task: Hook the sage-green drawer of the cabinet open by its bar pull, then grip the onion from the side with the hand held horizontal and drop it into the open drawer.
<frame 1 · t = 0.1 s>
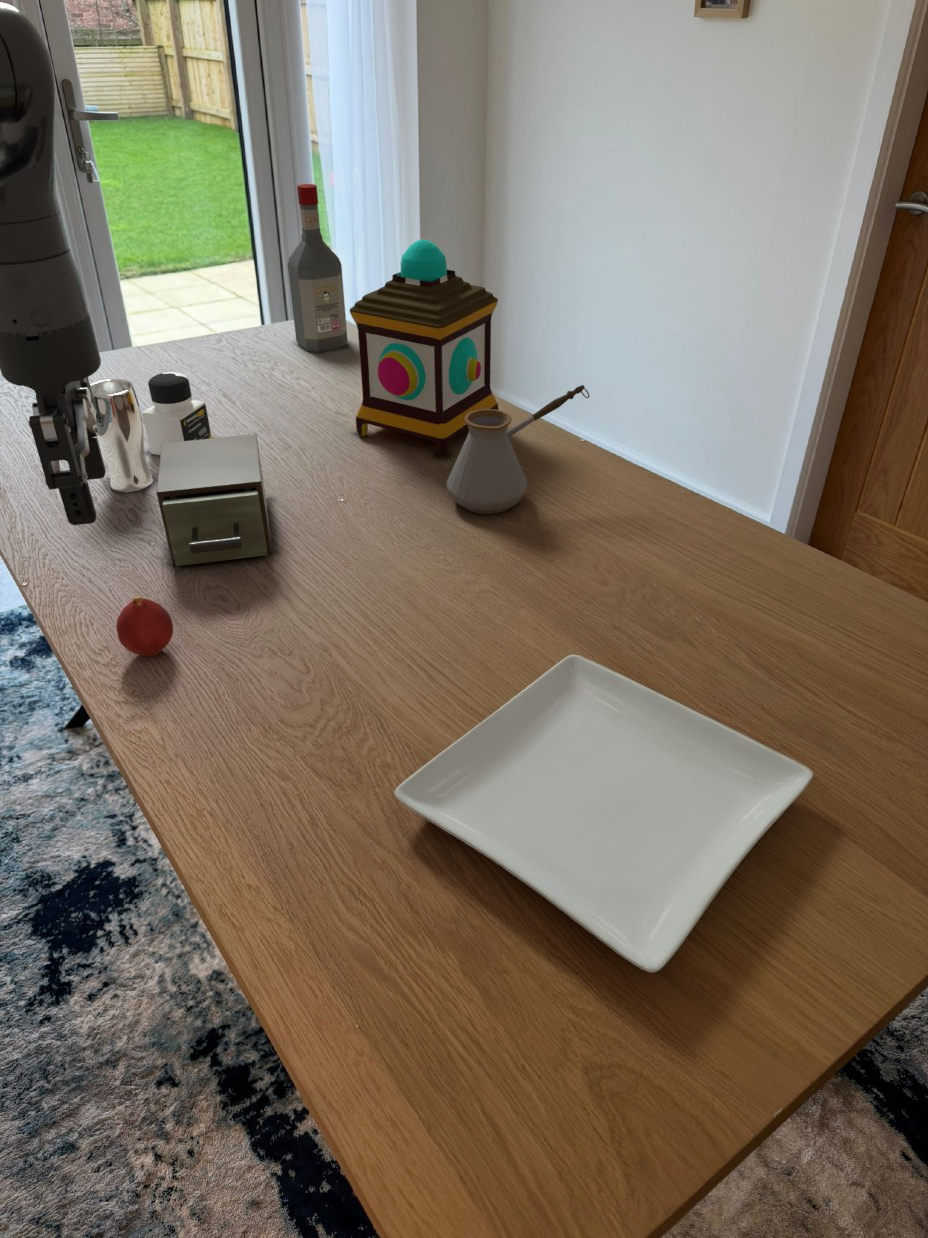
hand: (89, 499, 79), 24 cm above the table, tool pointing down, fingers open, 8 cm apart
drawer: (216, 515, 115), point 5 cm above the table, slide at 0.5 cm
liquor: (322, 345, 184), on the table
onion: (152, 656, 100), on the table
square plate: (602, 809, 81), on the table
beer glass: (132, 485, 134), on the table
coffee pot: (517, 496, 130), on the table
cabinet: (222, 532, 122), on the table
decorative lantern: (428, 430, 150), on the table
medicine bottle: (182, 449, 144), on the table
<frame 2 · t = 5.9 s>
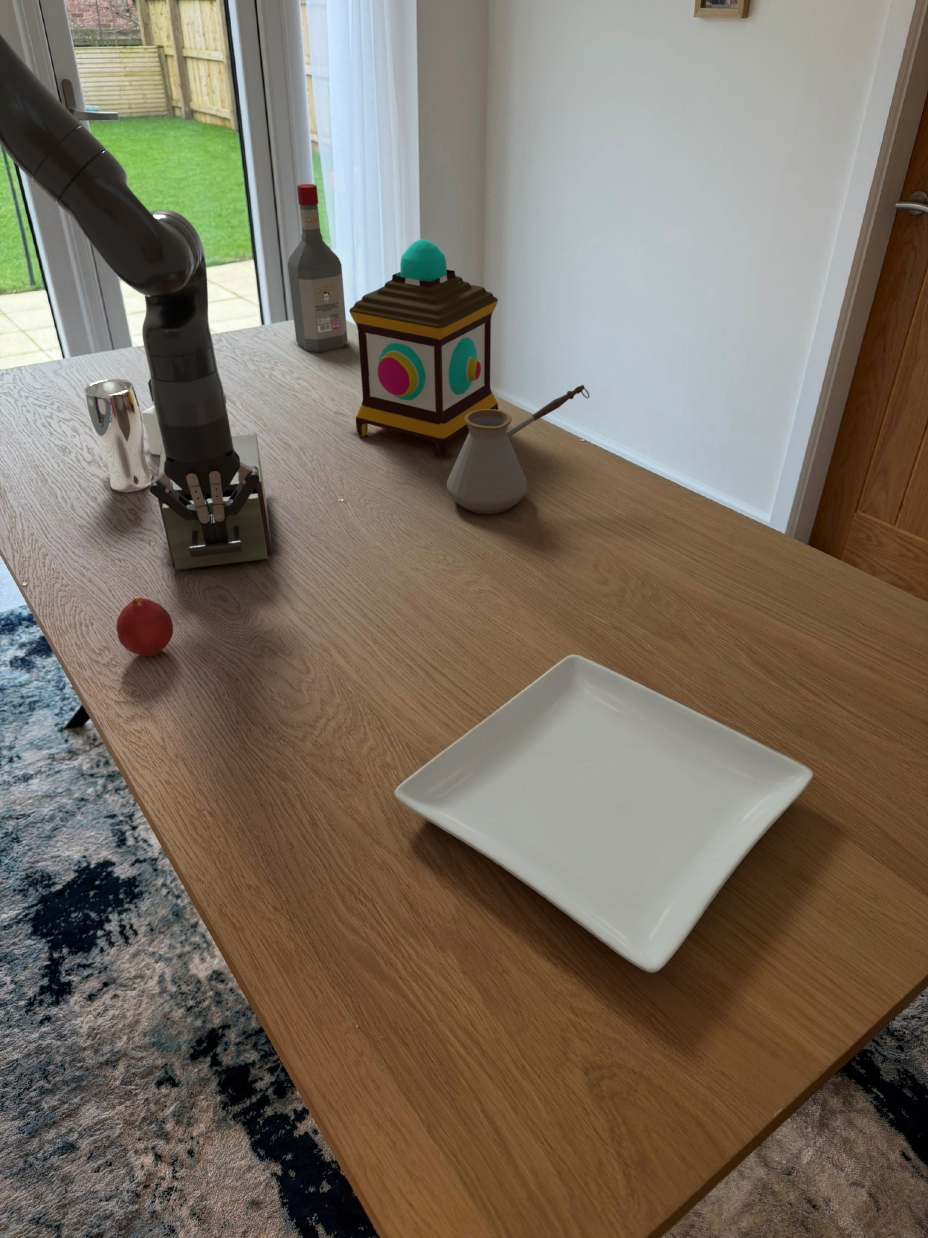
hand: (218, 544, 109), 5 cm above the table, tool pointing down, fingers closed
drawer: (216, 518, 114), point 5 cm above the table, slide at 1.4 cm, touching gripper
everything else where it was.
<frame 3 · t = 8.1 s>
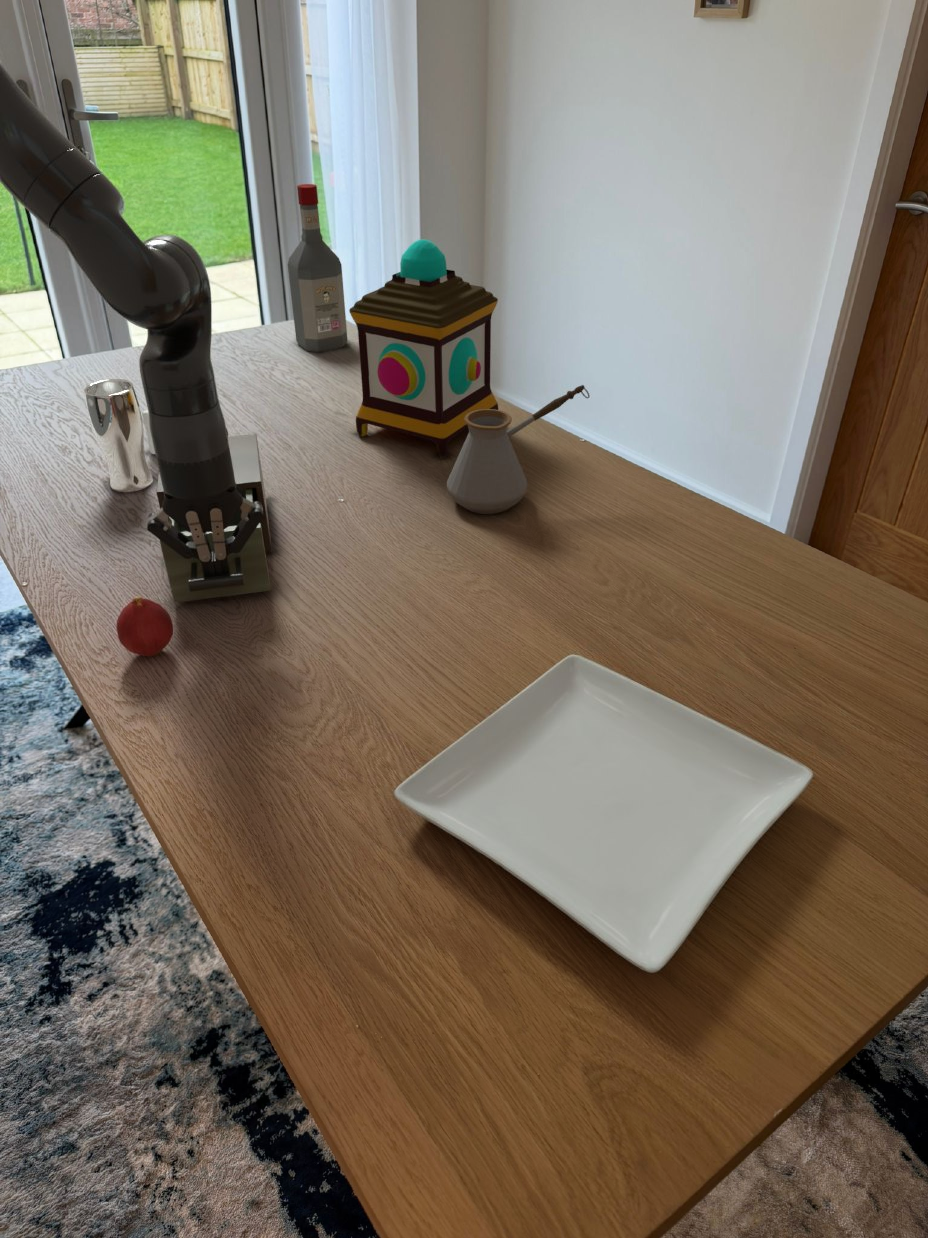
hand: (219, 583, 103), 5 cm above the table, tool pointing down, fingers closed
drawer: (216, 547, 108), point 5 cm above the table, slide at 8.9 cm, touching gripper
everything else where it was.
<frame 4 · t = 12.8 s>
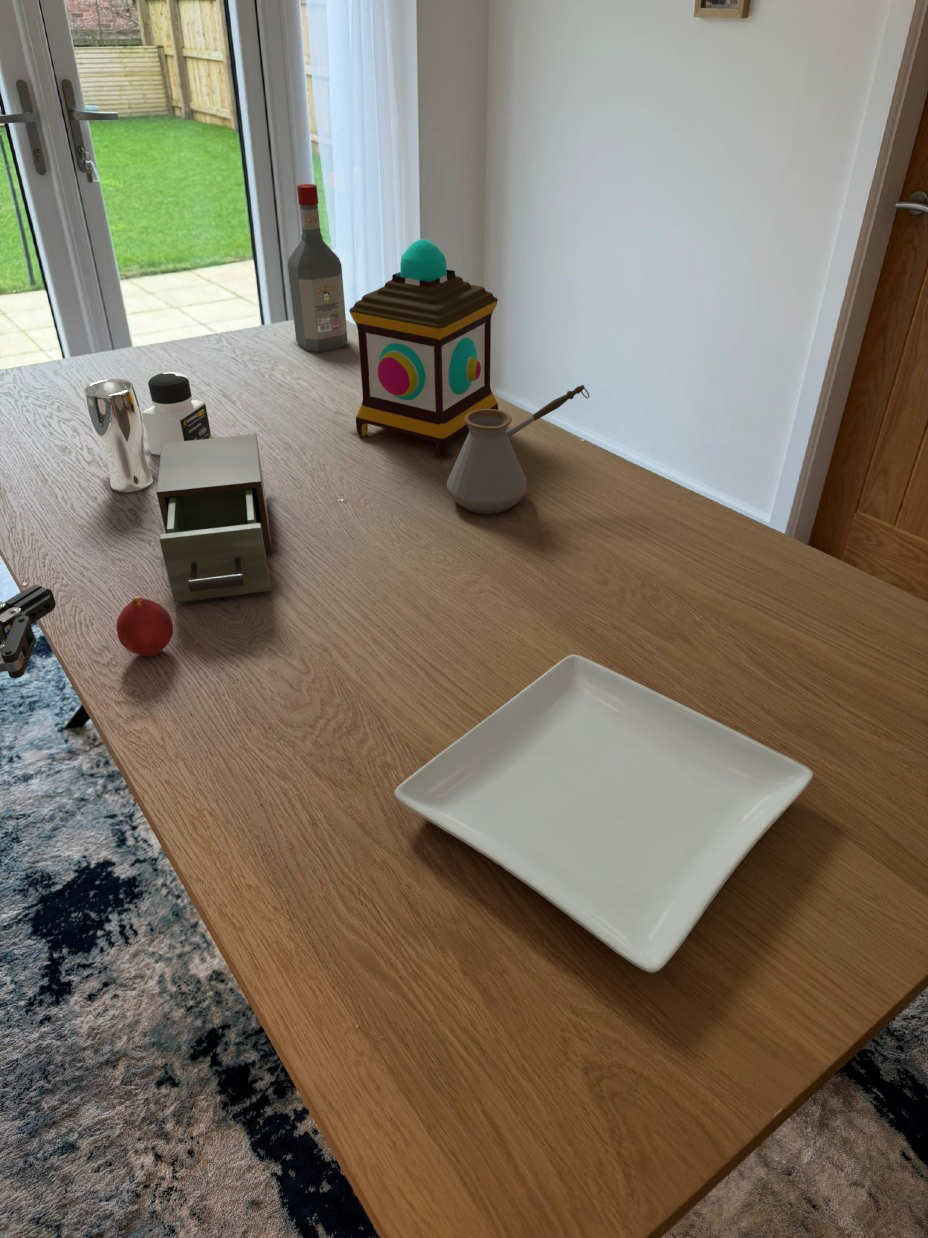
hand: (47, 595, 84), 14 cm above the table, tool horizontal, fingers closed
drawer: (216, 548, 108), point 5 cm above the table, slide at 8.9 cm
everything else where it was.
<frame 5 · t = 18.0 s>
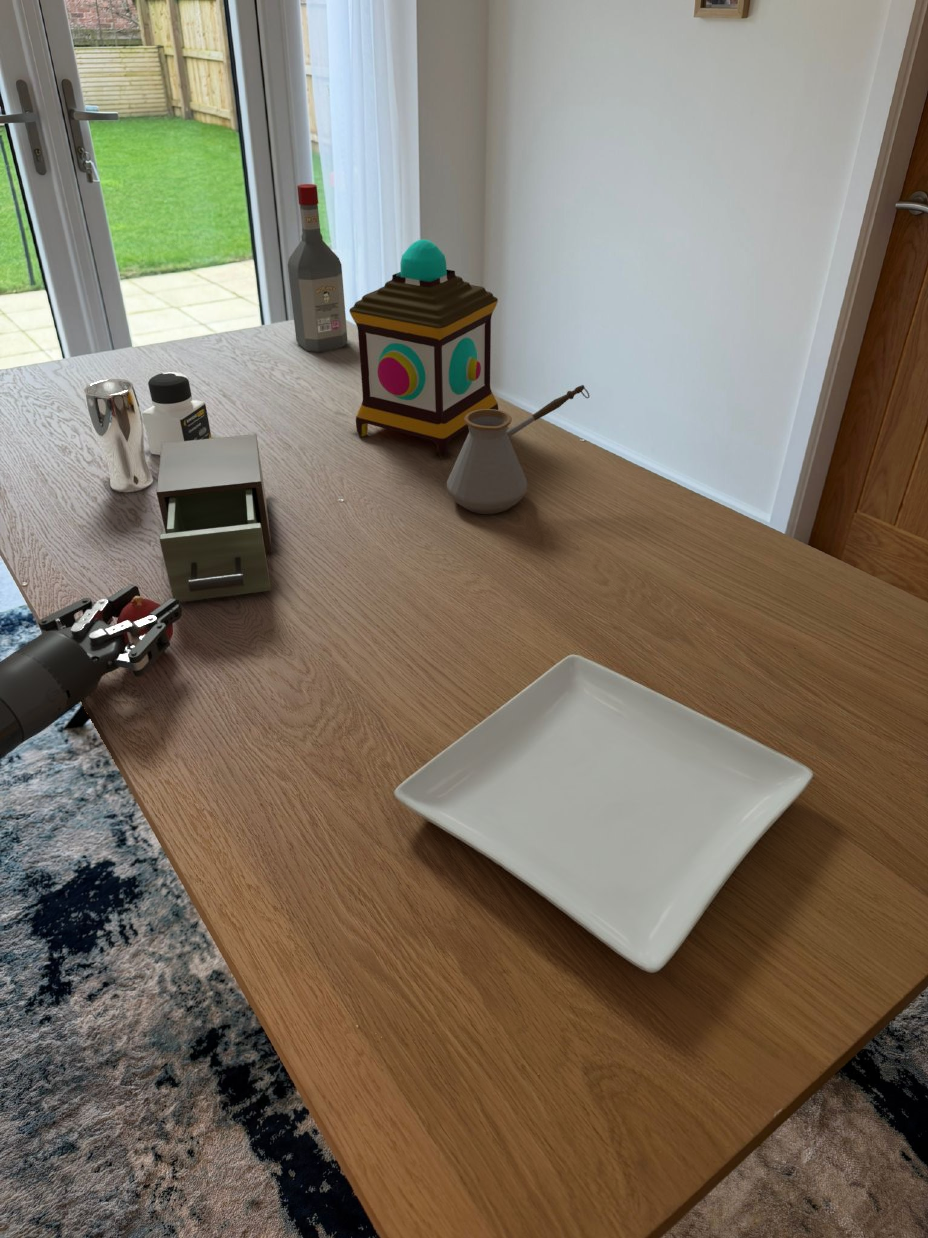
hand: (157, 598, 98), 6 cm above the table, tool horizontal, fingers closed on onion, 5 cm apart
onion: (152, 656, 100), on the table, touching gripper
everything else where it was.
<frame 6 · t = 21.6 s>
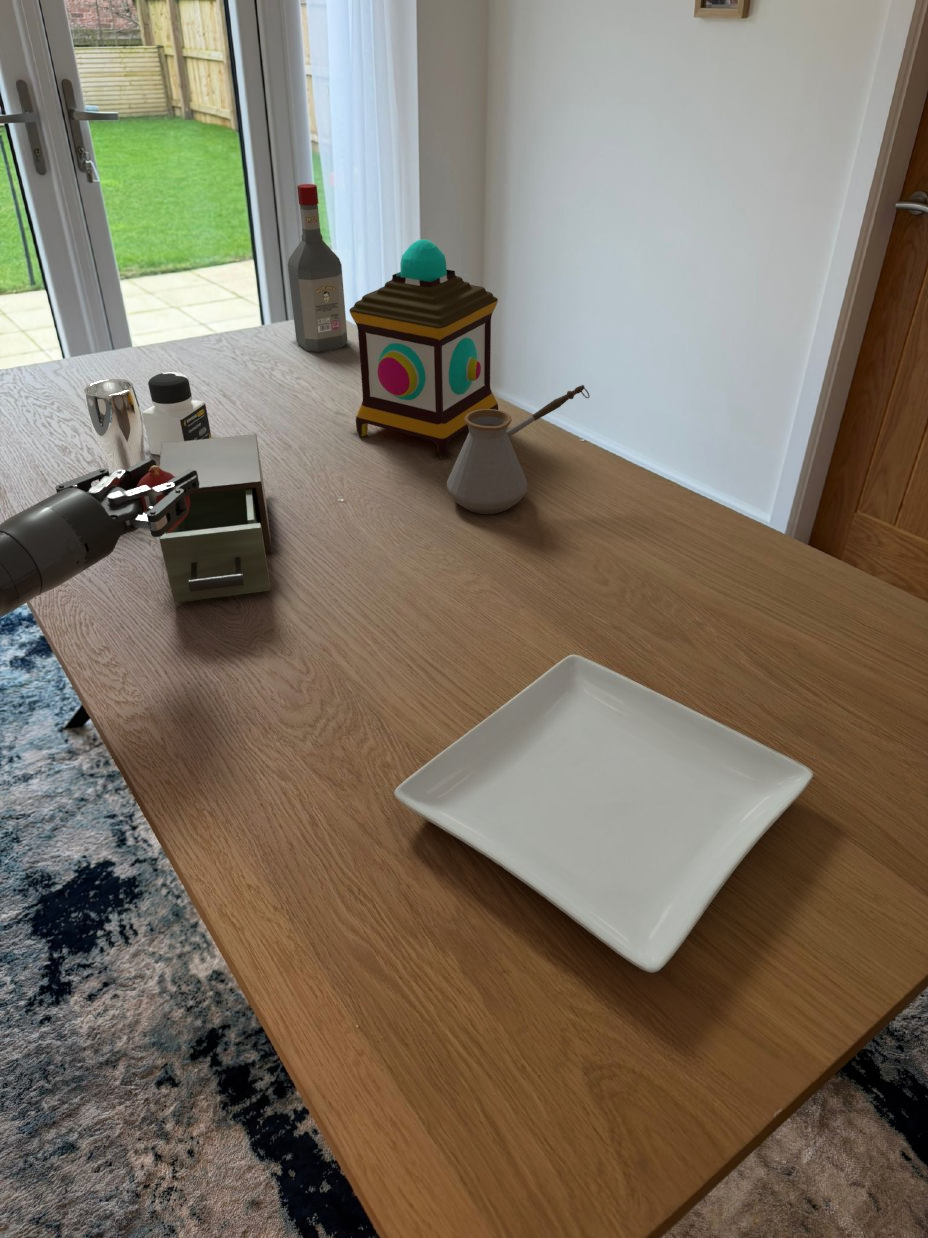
hand: (174, 472, 97), 18 cm above the table, tool horizontal, fingers closed on onion, 5 cm apart
onion: (168, 532, 99), point 11 cm above the table, touching gripper
everything else where it was.
when the fingers open (13 cm above the table, at t = 25.0 s): onion drops 4 cm, resting on drawer.
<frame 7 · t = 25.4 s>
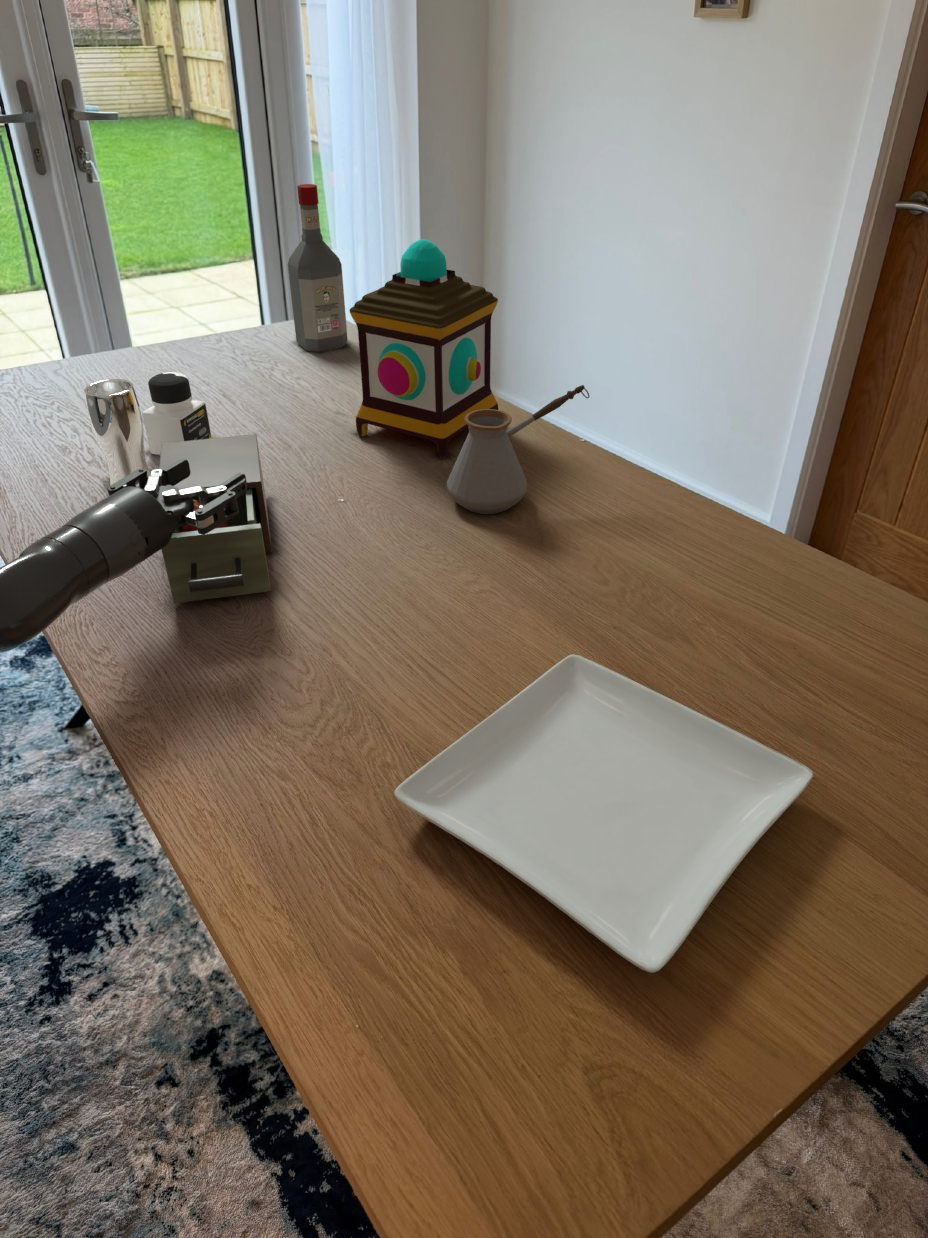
hand: (215, 473, 106), 14 cm above the table, tool horizontal, fingers open, 8 cm apart
drawer: (216, 548, 108), point 5 cm above the table, slide at 9.0 cm, touching onion
onion: (218, 562, 111), point 2 cm above the table, touching drawer
everything else where it was.
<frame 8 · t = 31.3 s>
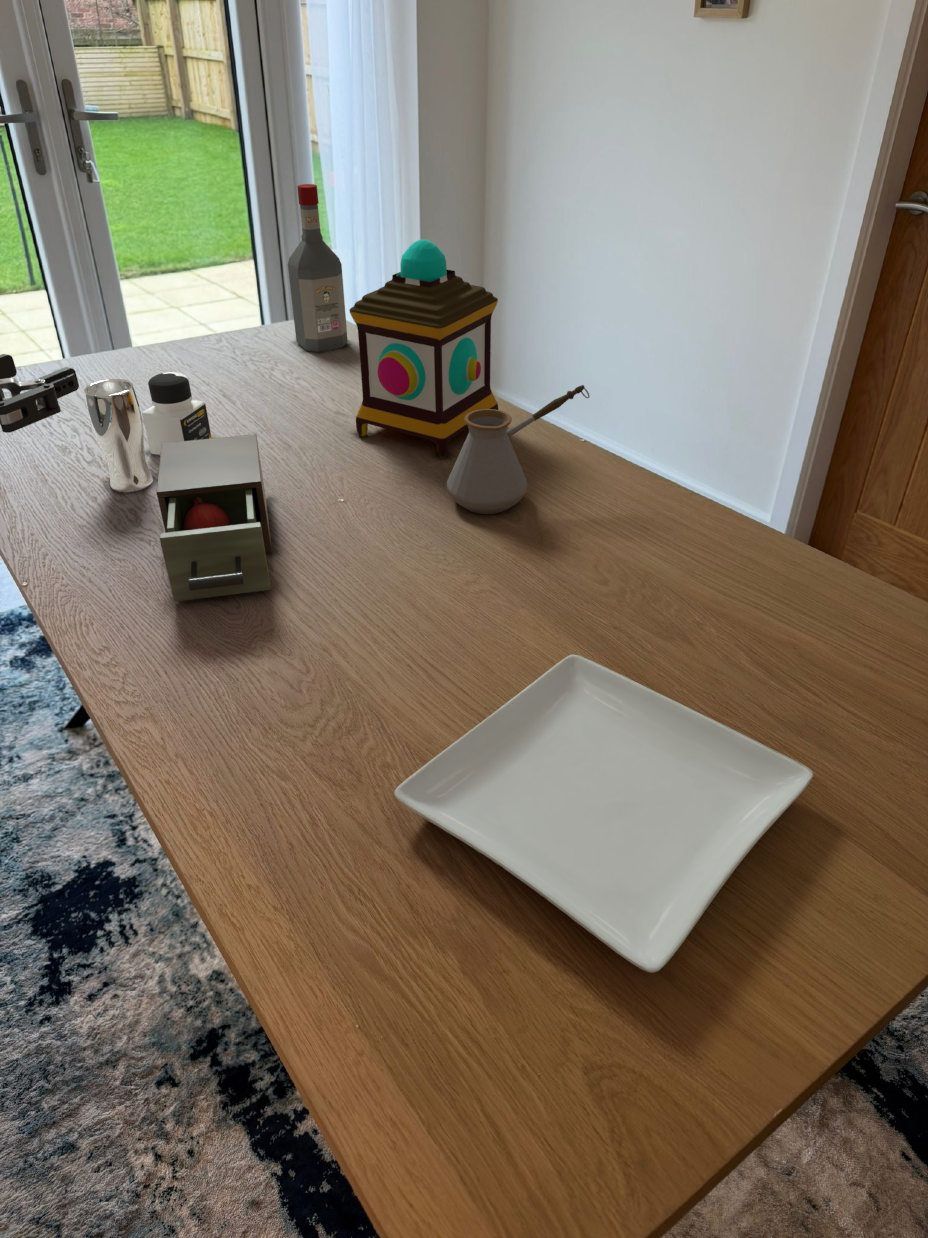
hand: (43, 370, 88), 30 cm above the table, tool horizontal, fingers open, 8 cm apart
drawer: (216, 547, 108), point 5 cm above the table, slide at 8.7 cm, touching onion
at the end: drawer slide at 8.7 cm; onion inside the target area in the cabinet (6.8 cm from its centre), point 3.1 cm above the cabinet's base; the gripper is holding nothing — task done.
